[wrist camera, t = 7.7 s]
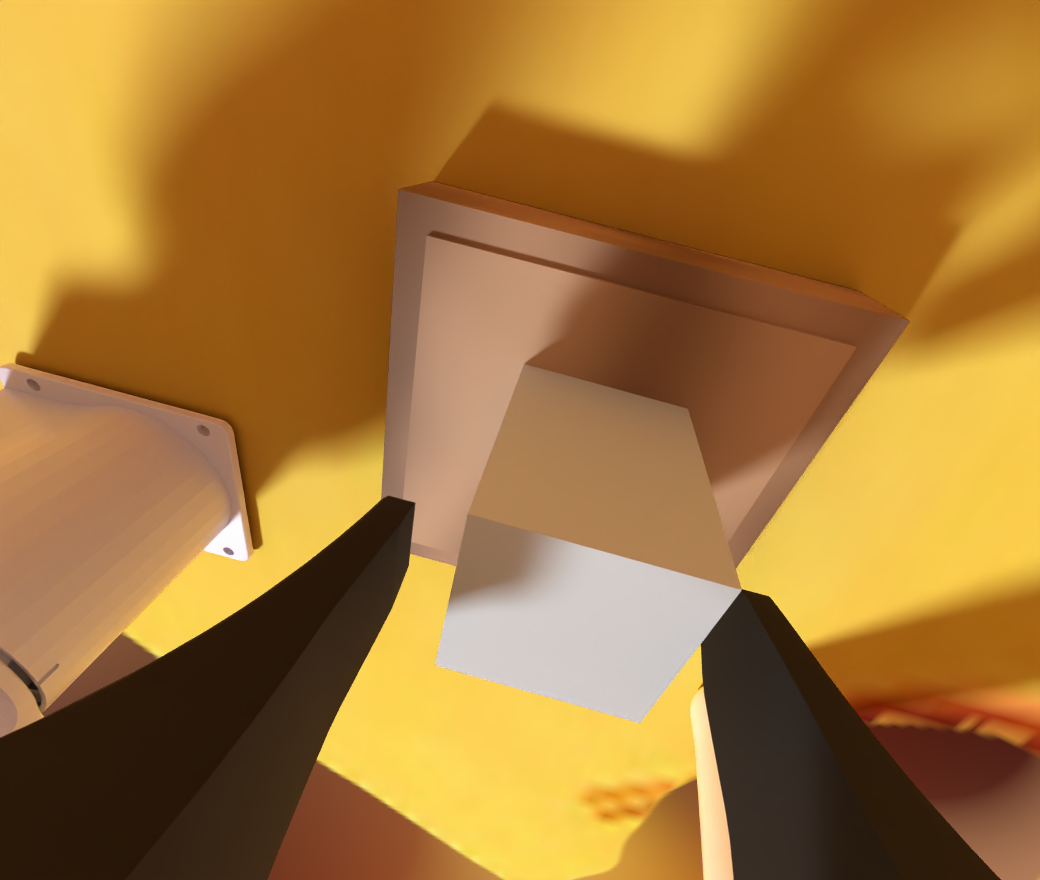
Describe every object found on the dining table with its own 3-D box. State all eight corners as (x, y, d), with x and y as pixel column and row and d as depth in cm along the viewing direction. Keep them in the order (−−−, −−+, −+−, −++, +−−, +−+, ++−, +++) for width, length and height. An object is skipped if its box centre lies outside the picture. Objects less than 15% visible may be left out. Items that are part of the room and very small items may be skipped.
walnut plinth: (403, 501, 20) (377, 548, 17) (432, 181, 13) (395, 189, 11) (683, 577, 19) (693, 633, 17) (860, 291, 13) (913, 323, 10)
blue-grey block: (493, 489, 15) (435, 665, 10) (523, 363, 12) (467, 513, 7) (629, 527, 15) (639, 723, 10) (687, 408, 12) (742, 590, 7)
